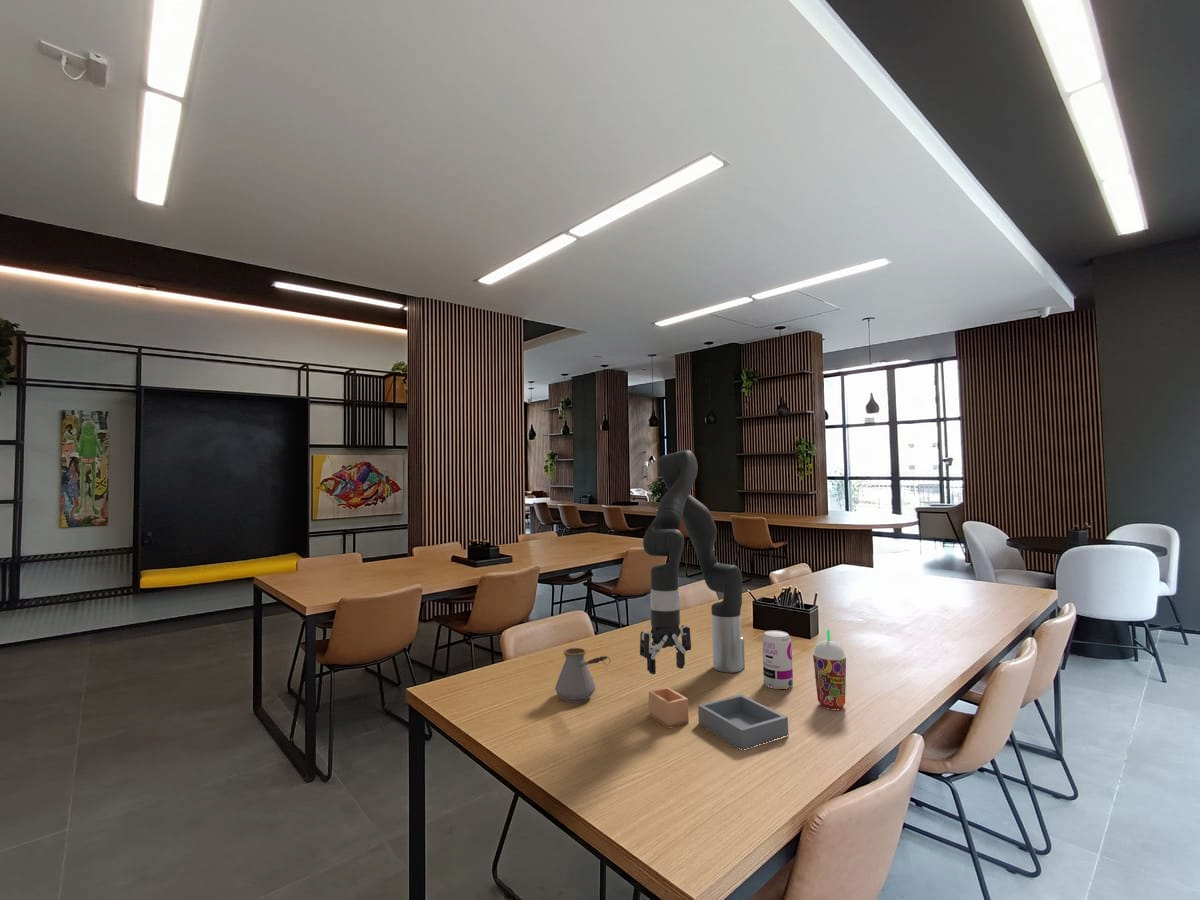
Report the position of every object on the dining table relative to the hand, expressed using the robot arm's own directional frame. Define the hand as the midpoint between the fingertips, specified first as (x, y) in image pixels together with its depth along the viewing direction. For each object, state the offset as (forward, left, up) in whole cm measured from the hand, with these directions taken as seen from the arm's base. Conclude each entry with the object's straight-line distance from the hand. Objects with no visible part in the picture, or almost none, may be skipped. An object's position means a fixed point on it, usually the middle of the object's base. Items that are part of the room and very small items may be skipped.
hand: (666, 670), depth 140 cm
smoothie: (-42, +15, -12) cm, 47 cm away
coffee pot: (+14, -20, -12) cm, 27 cm away
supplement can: (-41, -3, -12) cm, 43 cm away
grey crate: (-12, +14, -12) cm, 22 cm away
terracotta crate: (0, 0, -12) cm, 12 cm away
